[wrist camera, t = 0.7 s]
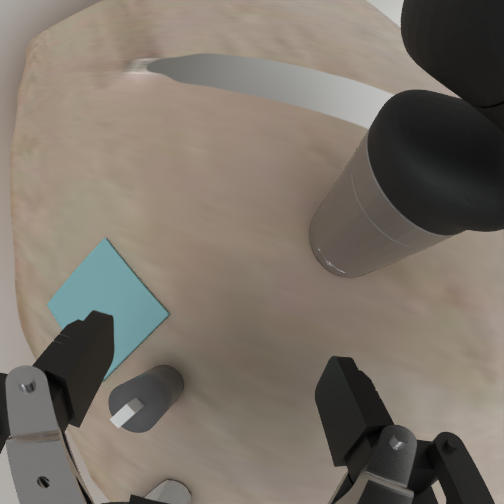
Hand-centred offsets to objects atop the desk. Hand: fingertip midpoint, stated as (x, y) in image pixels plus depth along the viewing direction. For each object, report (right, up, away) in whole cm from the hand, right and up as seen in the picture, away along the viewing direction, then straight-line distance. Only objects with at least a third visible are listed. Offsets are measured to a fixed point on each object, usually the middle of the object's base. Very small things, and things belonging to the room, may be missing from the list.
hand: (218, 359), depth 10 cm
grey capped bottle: (-8, -10, +18) cm, 23 cm away
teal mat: (-16, -3, +20) cm, 26 cm away
